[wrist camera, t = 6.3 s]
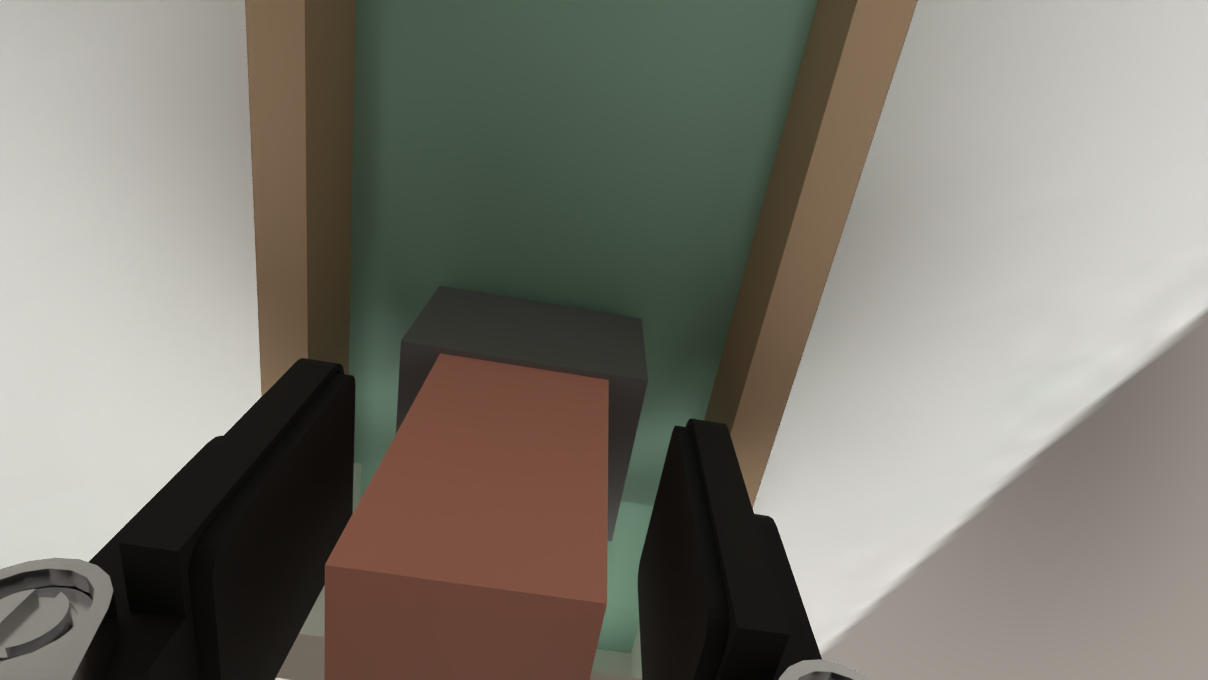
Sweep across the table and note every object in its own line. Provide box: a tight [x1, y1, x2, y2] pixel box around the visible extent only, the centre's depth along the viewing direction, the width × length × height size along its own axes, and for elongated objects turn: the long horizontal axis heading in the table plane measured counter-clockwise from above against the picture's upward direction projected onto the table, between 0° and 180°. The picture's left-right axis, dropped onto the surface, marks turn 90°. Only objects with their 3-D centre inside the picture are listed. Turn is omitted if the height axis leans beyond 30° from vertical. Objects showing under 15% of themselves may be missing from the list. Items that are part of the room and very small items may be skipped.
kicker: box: [324, 286, 648, 680], centre depth 10 cm, size 3×4×7 cm
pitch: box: [245, 0, 918, 680], centre depth 11 cm, size 21×9×7 cm, turn 170°
